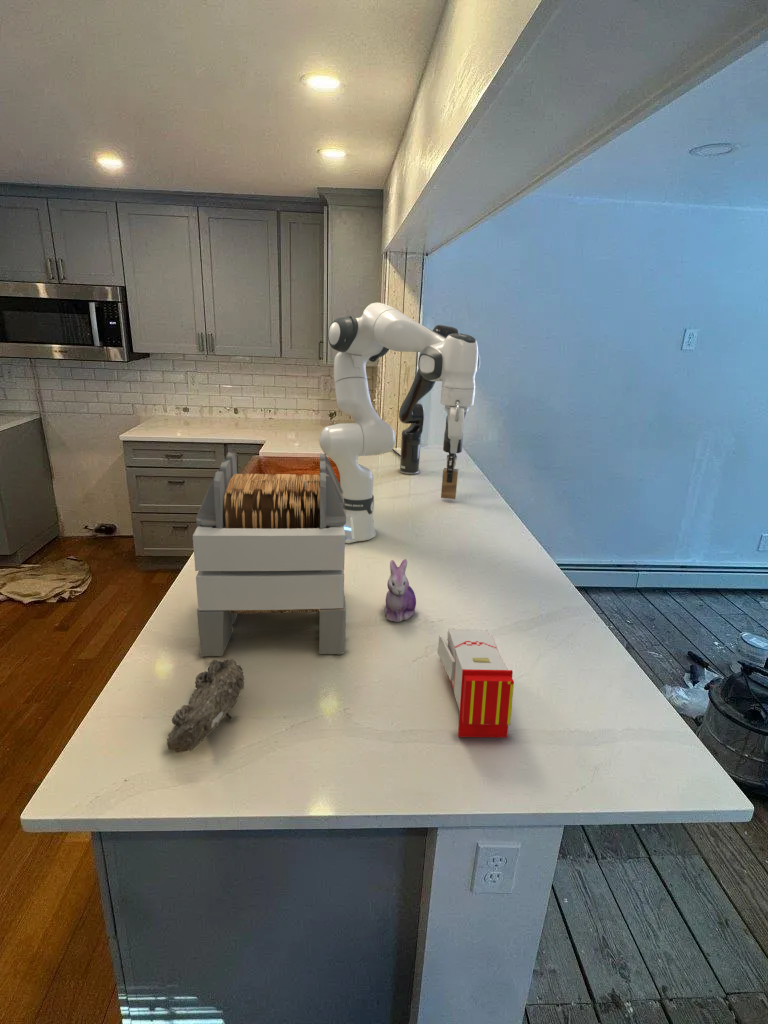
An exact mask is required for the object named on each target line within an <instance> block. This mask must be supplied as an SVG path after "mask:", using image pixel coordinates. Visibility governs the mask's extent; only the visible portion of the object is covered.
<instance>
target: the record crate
mask: <svg viewBox="0 0 768 1024" xmlns="http://www.w3.org/2000/svg"><path fill="white" fill-rule="evenodd" d="M328 458H329V457H328V456H327V455H326V454H325V453H321V452H320V453H319V474H312V475H311V474H307V473H304V474H302V475H299V474H295V473H276V474H271V473H270V474H268V473H238V472H237V457H236V452H227V454H226V456H225V458H224V459H223V460H222V461H221V464H220V466H219V468H218V470H217V471H215V473H214V475H213V477H212V479H211V482H210V484H209V486H208V488H207V491H206V493H205V496H204V498H203V500H202V502H201V505H200V507H199V509H198V512H197V514H196V517H195V521H196V525H197V527H196V529H195V530H194V532H193V534H192V544H193V545H192V546H193V558H194V559H193V560H194V571H195V572H197V573H196V576H195V584H196V597H197V610H196V619H197V631H198V639H199V651H200V652H199V656H200V657H201V658H207V657H223V655H224V653H225V651H226V648H227V647H228V644H229V641H230V639H231V638H232V637H231V636H232V634H233V624H235V623H236V619H237V617H238V614H257V613H258V614H263V613H264V614H266V613H267V614H277V613H278V614H282V613H283V614H288V613H291V614H292V613H308V612H309V613H317V612H318V613H319V614H318V615H319V616H318V618H319V621H318V622H319V626H318V627H319V628H318V629H319V630H318V632H319V634H318V636H319V637H318V638H319V639H318V640H319V646H318V649H319V652H318V653H319V655H341V656H342V654H344V653H346V626H347V625H346V623H347V621H346V619H347V617H346V616H347V608H346V596H345V559H346V558H345V556H346V555H345V554H346V553H345V552H346V543H345V530H344V524H345V523H346V511H345V503H344V496H343V491H342V489H341V486H340V481H339V480H338V477H337V475H336V474H335V472H334V469H333V467H332V465H331V463H330V461H329V459H328Z"/></svg>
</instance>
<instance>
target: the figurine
mask: <svg viewBox="0 0 768 1024" xmlns="http://www.w3.org/2000/svg"><path fill="white" fill-rule="evenodd" d="M407 567H408V559H406V558H404V559H403V560H402V561H401V563H400V565H399V566H398V565H397V563H396V562H395V561H394V560H393V559H391V560H390V561H389V570H390V576H389V578H388V579H387V589H388V591H387V592H386V594H385V595H386V596H385V607H384V615H385V616H386V620H387V621H391V622H395V623H400V622H402V621H406V620H409V619H410V618H411V617H413V616H414V615H415V610H416V606H417V597H416V593H415V591H414V590H413V587H411V586H410V582H409V579H408V577H407V574H406V571H407Z"/></svg>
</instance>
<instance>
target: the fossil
mask: <svg viewBox="0 0 768 1024" xmlns="http://www.w3.org/2000/svg"><path fill="white" fill-rule="evenodd" d="M243 670H244V669H243V667H242V665H240V664H237V662H236V661H235V660H234V659H232V658H231V659H227V658H226V659H224V660H223V661H222V660H217V659H212V660H211V661H210V663H209V665H208V666H207V671H201V672H199V673H198V674H197V675H196V676H195V680H194V684H195V685H194V687H195V689H194V690H193V693H192V694H191V697H190V698H189V700H188V704H184V705H182V706H181V707H180V709H177V710H176V711H175V713H174V715H173V716H172V718H171V723H172V724H173V727H172V730H171V731H170V732H168V734H167V738H166V741H167V742H166V745H167V749H168V750H169V751H173V752H174V753H176V754H178V753H182V752H188V751H189V752H192V751H193V750H195V748H196V747H197V746H199V744H200V743H201V742H203V741H204V740H205V739H206V738H207V737H208V736H209V735H210V734H211V733H212V732H214V730H215V729H217V727H218V726H219V724H220V722H221V721H222V720H223V719H224V718H225V716H226V717H227V719H229V720H233V717H232V715H230V714H229V710H230V709H231V708H234V706H235V704H236V703H237V702H238V699H239V697H240V695H241V693H242V691H243V690H245V689H244V688H245V675H244V671H243Z"/></svg>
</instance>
